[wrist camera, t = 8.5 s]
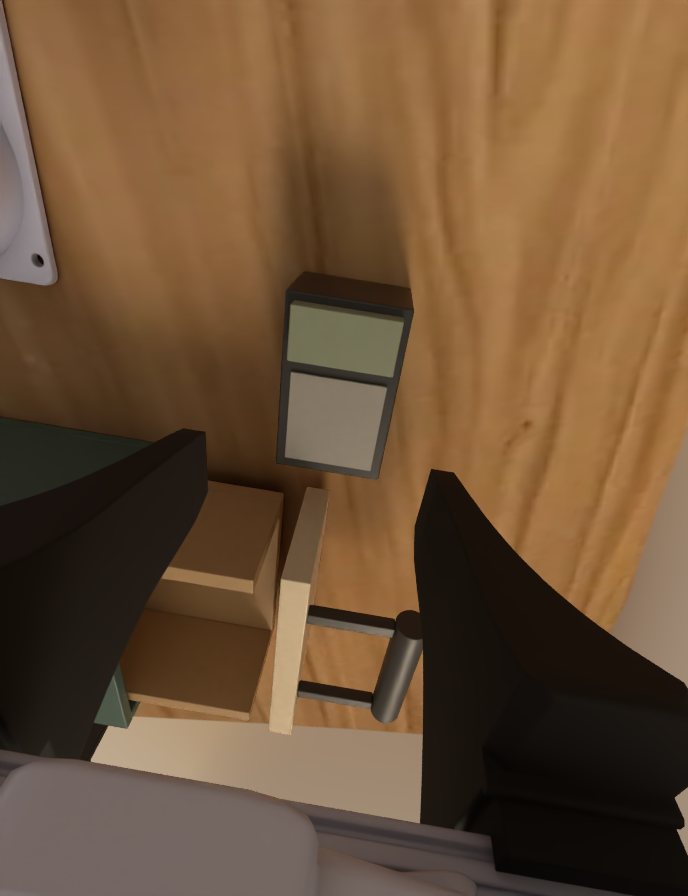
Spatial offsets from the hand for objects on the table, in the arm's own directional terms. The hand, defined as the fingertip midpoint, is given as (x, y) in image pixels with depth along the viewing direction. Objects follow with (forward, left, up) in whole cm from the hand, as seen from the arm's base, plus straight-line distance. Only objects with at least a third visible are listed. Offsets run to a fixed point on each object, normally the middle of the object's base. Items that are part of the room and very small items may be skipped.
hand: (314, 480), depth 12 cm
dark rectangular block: (0, 0, -9) cm, 9 cm away
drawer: (+13, -4, -8) cm, 15 cm away
